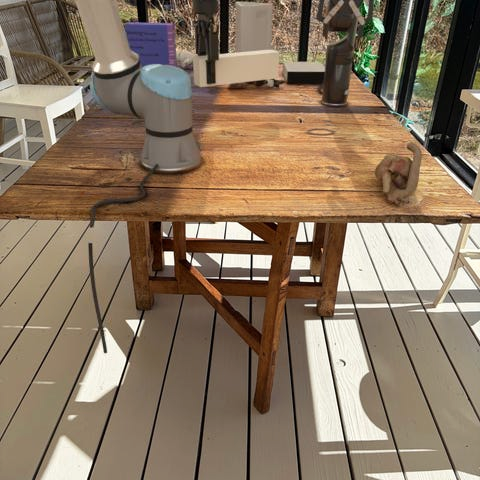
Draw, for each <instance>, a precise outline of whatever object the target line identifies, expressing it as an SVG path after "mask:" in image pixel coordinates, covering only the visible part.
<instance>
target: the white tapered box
mask: <svg viewBox="0 0 480 480" xmlns="http://www.w3.org/2000/svg"><path fill="white" fill-rule="evenodd" d="M273 8H274V4H273V3H269V2H267V3H266V2H265V3H264V2H252V1H235V53H238V52H249V51H260V50H271V49H272V33H273V32H272V31H273V10H274V9H273Z"/></svg>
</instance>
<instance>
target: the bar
mask: <svg viewBox="0 0 480 480" xmlns="http://www.w3.org/2000/svg"><path fill="white" fill-rule="evenodd" d="M205 60H207V55H206V56H195V57H193V63H192V66H193V68H192V69H193V84H194V85H196V86H198V87H199V88H206V87H215V86H224V85H229V84H233V83H241V82H249V81H258V80H266V79H275V80H276V79H279V69H280V51H278V50H274V49H272V48H271V50H260V51H249V52H238V53H236V52H230V53H219V60H217V61H215V71H216V83H214V84H207V76H206V62H205Z"/></svg>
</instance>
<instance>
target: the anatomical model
mask: <svg viewBox="0 0 480 480" xmlns="http://www.w3.org/2000/svg"><path fill="white" fill-rule="evenodd" d="M406 149H407V150H408V151H410V152H411V153H412V154H413V157H412V159H411V158H410V157H409V156H404V155H403V156H402V155H398V154H395V153H393V152H390V153H388V154H386V155H385V156H384V158H383V159H382V160H380V162H379V163H378V164H377V166H376V168H375V170H374V177H375V179H376V180H377V181H378V182H380V183H382V194H385V195H386V196H387V202H388V203H390V204H393V203H395V205H398V204H400V202H401V203H404V202H405V201H406V200H405V199H408V198H410V197H412V196H413V194H414V193H415V192H416V190H417V188H418V185H419V180H420V170H421V164H422V160H423V151H422V148H421V147H420V146H419V145H418V144H416V143H415V142H412V141H411V142H408V143H407V145H406ZM399 200H400V202H399Z"/></svg>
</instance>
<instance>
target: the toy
mask: <svg viewBox="0 0 480 480" xmlns="http://www.w3.org/2000/svg"><path fill="white" fill-rule="evenodd" d="M195 56H198V54H196V53H193V52H190V51H187V50H184V51H176V61H177V63H179V64H180V65H181V67H182V68H185V67H187V66H188V67H189V66H191V65H193V57H195Z"/></svg>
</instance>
